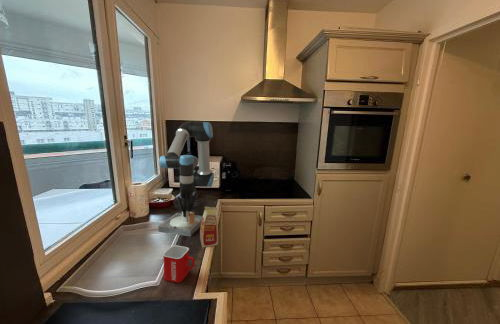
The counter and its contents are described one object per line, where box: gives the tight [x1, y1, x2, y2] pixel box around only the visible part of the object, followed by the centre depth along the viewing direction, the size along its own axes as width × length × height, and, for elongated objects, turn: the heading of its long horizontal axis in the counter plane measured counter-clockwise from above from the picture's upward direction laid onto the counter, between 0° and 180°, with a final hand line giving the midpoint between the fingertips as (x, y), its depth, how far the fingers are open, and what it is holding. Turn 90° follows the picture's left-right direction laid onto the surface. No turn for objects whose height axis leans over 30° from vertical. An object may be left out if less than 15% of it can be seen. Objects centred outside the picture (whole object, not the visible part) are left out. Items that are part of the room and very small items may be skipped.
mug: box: [162, 245, 195, 284], centre depth 88 cm, size 12×8×11 cm
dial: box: [170, 211, 196, 228], centre depth 131 cm, size 15×15×7 cm
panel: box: [157, 212, 203, 237], centre depth 131 cm, size 20×20×4 cm
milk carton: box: [199, 206, 219, 249], centre depth 114 cm, size 9×9×20 cm
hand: (186, 221), depth 126 cm, fingers closed
